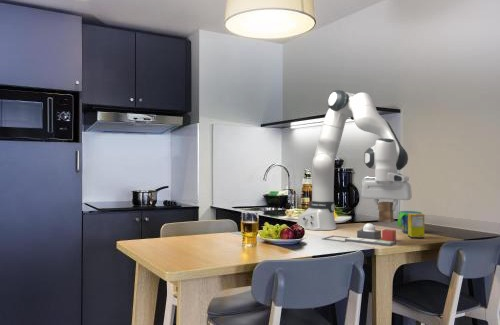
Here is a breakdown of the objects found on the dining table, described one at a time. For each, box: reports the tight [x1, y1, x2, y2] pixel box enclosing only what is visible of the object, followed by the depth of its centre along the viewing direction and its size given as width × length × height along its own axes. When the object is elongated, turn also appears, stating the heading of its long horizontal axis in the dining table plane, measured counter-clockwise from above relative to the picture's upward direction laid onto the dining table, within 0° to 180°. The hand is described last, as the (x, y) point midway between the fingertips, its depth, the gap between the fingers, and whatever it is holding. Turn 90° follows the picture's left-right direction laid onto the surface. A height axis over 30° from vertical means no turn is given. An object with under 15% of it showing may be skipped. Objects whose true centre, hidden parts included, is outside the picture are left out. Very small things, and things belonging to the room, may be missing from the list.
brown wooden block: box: [377, 201, 395, 223], centre depth 189 cm, size 5×5×8 cm
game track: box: [344, 236, 397, 247], centre depth 193 cm, size 20×8×1 cm, turn 54°
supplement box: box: [407, 212, 425, 240], centre depth 207 cm, size 6×6×11 cm
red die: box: [381, 228, 397, 242], centre depth 198 cm, size 4×4×5 cm
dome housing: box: [356, 228, 382, 240], centre depth 203 cm, size 8×8×4 cm
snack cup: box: [397, 210, 423, 234], centre depth 223 cm, size 16×10×10 cm
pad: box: [321, 235, 351, 243], centre depth 201 cm, size 11×11×1 cm
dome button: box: [362, 222, 376, 232], centre depth 203 cm, size 5×5×6 cm
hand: (386, 210), depth 189 cm, fingers closed on brown wooden block, 4 cm apart
